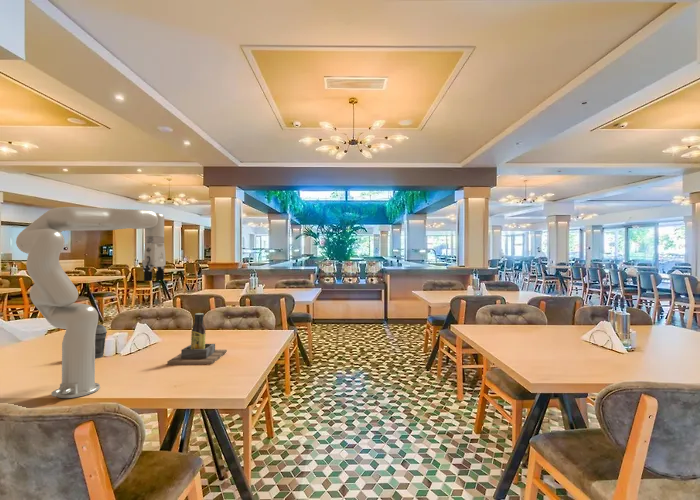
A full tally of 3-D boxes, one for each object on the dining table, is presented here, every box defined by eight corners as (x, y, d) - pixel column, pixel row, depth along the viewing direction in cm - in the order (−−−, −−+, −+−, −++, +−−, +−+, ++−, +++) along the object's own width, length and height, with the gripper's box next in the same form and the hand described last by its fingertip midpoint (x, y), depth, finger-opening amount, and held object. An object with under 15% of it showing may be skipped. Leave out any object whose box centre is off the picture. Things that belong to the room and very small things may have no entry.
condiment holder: (212, 364, 161) (212, 352, 162) (167, 364, 161) (167, 352, 161) (226, 352, 181) (226, 341, 182) (186, 352, 181) (187, 341, 181)
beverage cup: (97, 359, 169) (97, 317, 170) (84, 358, 171) (84, 316, 171) (110, 355, 177) (110, 314, 177) (98, 354, 178) (98, 314, 178)
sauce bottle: (187, 356, 170) (188, 314, 170) (199, 352, 175) (199, 312, 176) (197, 357, 167) (197, 315, 167) (208, 354, 172) (208, 313, 173)
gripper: (152, 240, 149) (152, 281, 149) (172, 242, 167) (172, 278, 166) (134, 240, 149) (134, 281, 149) (156, 242, 167) (156, 278, 166)
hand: (154, 280), depth 158 cm, fingers open, 9 cm apart
